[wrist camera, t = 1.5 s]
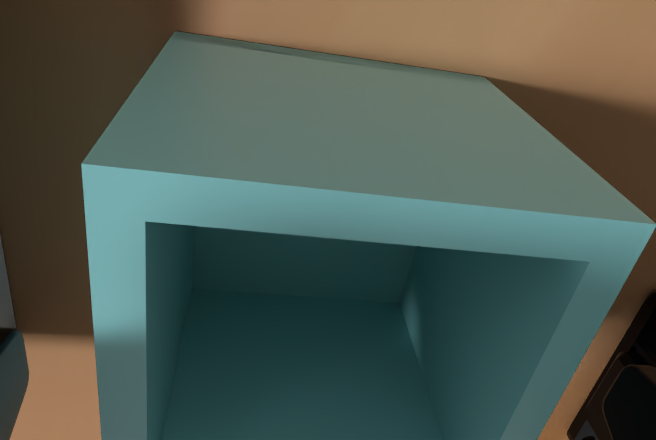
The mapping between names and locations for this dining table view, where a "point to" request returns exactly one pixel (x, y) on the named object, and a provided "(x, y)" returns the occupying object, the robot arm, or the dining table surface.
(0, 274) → the big crate
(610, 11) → the dining table surface
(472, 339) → the small crate
